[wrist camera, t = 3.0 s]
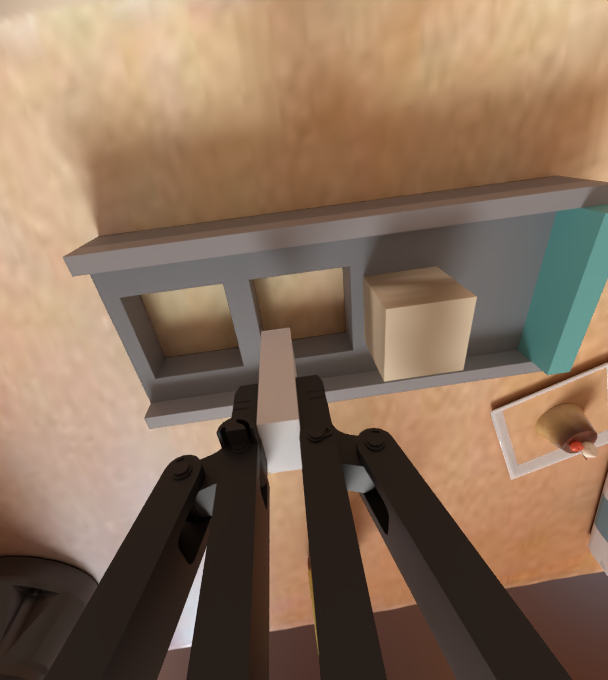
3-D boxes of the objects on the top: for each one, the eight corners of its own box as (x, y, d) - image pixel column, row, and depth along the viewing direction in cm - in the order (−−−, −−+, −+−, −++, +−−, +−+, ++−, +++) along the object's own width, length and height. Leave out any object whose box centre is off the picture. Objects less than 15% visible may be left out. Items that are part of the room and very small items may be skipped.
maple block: (363, 339, 22) (383, 381, 18) (363, 276, 20) (386, 309, 16) (429, 330, 22) (463, 370, 18) (436, 266, 20) (477, 296, 16)
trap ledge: (164, 390, 26) (142, 446, 21) (98, 236, 20) (44, 267, 15) (512, 340, 27) (565, 383, 22) (557, 175, 20) (644, 187, 16)
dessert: (483, 403, 31) (515, 444, 27) (617, 346, 29) (674, 381, 25) (505, 471, 37) (534, 512, 33) (617, 428, 35) (664, 466, 31)
